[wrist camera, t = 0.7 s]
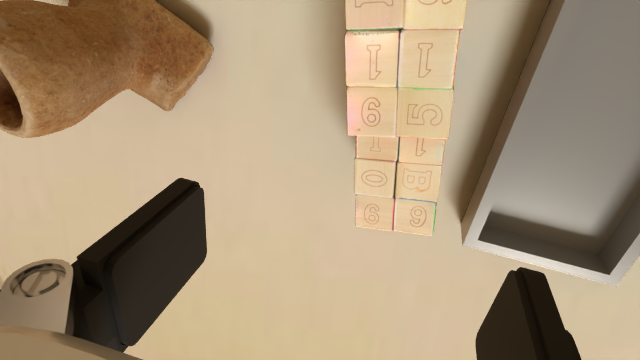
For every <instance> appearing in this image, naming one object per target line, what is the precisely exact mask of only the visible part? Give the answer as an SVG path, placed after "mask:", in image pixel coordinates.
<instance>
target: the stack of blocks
mask: <svg viewBox="0 0 640 360" xmlns="http://www.w3.org/2000/svg"><path fill="white" fill-rule="evenodd" d="M466 3H467V0H345V15H346V29H347V32H346V33H345V73H346V85H347V92H346V93H347V134H348V135H353V136H356V157H355V161H354V193H355V194H356V200H355V226H357V227H364V228H371V229H378V230H385V231H393V230H394V231H398V232H405V233H412V234H419V235H427V236H432V235H433V230H434V222H435V214H436V204H437V201H438V195H439V186H440V178H441V171H442V163H443V156H444V147H445V140H447V139H448V137H449V129H450V121H451V112H452V103H453V95H454V86H453V82H454V74H455V67H456V58H457V51H458V43H459V34H460V30H461V29H462V28H463V25H464V18H465V11H466Z"/></svg>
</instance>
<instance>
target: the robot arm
mask: <svg viewBox="0 0 640 360" xmlns="http://www.w3.org/2000/svg"><path fill="white" fill-rule="evenodd" d="M206 254H207V244H206V224H205V205H204V190H203V188H200V185H199V183H198V182H195V181H191V180H188V179H184V178H179V179H177V180H176V181H174V182H173V183H172V184H170V185H169V186H168V187H167V188H165V189H164V190H163V191H161V192H160V193H159V194H158V195H156V196H155V197H154V198H152V199H151V200H150V201H148V202H147V203H146V204H145V205H143V206H142V207H141V208H139V209H138V210H137V211H135V212H134V213H133V214H132V215H130V216H129V217H128V218H126V219H125V220H124V221H123V222H121V223H120V224H119V225H117V226H116V227H115V228H113V229H112V230H111V231H110V232H108V233H107V234H106V235H104V236H103V237H102V238H100V239H99V240H98V241H97V242H95V243H94V244H93V245H91V246H90V247H89V248H88V249H86V250H85V251H84V252H82V253H81V254H80V255H78V256H77V261H76V262H74V263H73V264H72V265H70V264H69V263H68V262H66V261H63V260H58V259H47V260H41V261H37V262H33V263H30V264H28V265H26V266H23V267H21V268H20V269H18V270H17V271H15V272H13V273H12V274H11V275H10V276H9V277H8V278H7V279H6V281H5V282H4V284H3V286H2V288H1V290H0V360H142V359H139V358H136V357H134V356H131V355H128V354H125V353H123V352H124V351H125V350H126V348H127V347H128V346H133V345H135V344H136V343H137V342H138V341H139V339H140V338H141V337H142V336H143V335H144V333H145V332H146V331H147V330H148V328H149V327H150V326H151V325H152V324H153V322H154V321H155V320H156V319H157V318H158V316H159V315H160V314H161V313H162V312H163V310H164V309H165V308H166V307H167V305H168V304H169V303H170V302H171V301H172V299H173V298H174V297H175V296H176V295H177V293H178V292H179V291H180V290H181V289H182V287H183V286H184V285H185V284H186V282H187V281H188V280H189V279H190V278H191V276H192V275H193V274H194V273H195V272H196V270H197V269H198V268H199V267H200V265H201V264H202V263H203V262H204V260H205V258H206ZM476 354H477V360H581V357H580V354H579V352H578V349H577V347H576V344H575V341H574V339H573V337H572V335H571V334H570V333H569V332H568V331H567V330H565V328H564V325H563V323H562V320H561V317H560V314H559V312H558V309H557V306H556V303H555V301H554V298H553V295H552V292H551V290H550V287H549V284H548V282H547V279H546V276H545V275H544V274H543V273H541V272H538V271H534V270H530V269H526V268H522V267H520V268H518V269H517V271H513V270H511V271H510V272H509V273H508V275H507V277H506V279H505V281H504V283H503V285H502V286H501V288H500V290H499V292H498V294H497V296H496V298H495V300H494V302H493V304H492V306H491V308H490V310H489V312H488V314H487V316H486V317H485V319H484V321H483V323H482V325H481V327H480V329H479V331H478V333H477V337H476Z"/></svg>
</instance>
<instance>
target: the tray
mask: <svg viewBox="0 0 640 360" xmlns="http://www.w3.org/2000/svg"><path fill="white" fill-rule="evenodd" d="M461 233H462V244H463V246H466V247H470V248H474V249H478V250H481V251H485V252H489V253H492V254H496V255H500V256H503V257H507V258H511V259H515V260H518V261H522V262H526V263H529V264H533V265H537V266H541V267H544V268H548V269H552V270H555V271H559V272H563V273H567V274H570V275H574V276H578V277H581V278H585V279H589V280H593V281H596V282H600V283H604V284H607V285H611V286H615V287H616V286H617V285H618V284H619V282H620V281H621V280H622V278H623V277H624V276H625V274H626V273H627V272H628V270H629V269H630V268H631V266H632V265H633V264H634V262H635V261H636V260H637V258H638V257H639V256H640V0H550V2H549V5H548V7H547V10H546V12H545V15H544V17H543V20H542V22H541V25H540V27H539V30H538V32H537V35H536V37H535V40H534V42H533V45H532V47H531V50H530V52H529V55H528V57H527V60H526V62H525V65H524V67H523V70H522V72H521V75H520V77H519V80H518V82H517V85H516V87H515V90H514V92H513V95H512V97H511V100H510V102H509V105H508V107H507V110H506V112H505V115H504V117H503V120H502V122H501V125H500V127H499V130H498V132H497V135H496V137H495V140H494V142H493V145H492V147H491V150H490V153H489V155H488V158H487V160H486V163H485V165H484V168H483V170H482V173H481V175H480V178H479V180H478V183H477V185H476V188H475V190H474V193H473V195H472V198H471V200H470V203H469V205H468V208H467V210H466V213H465V215H464V218H463V220H462V223H461Z"/></svg>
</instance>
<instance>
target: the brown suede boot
mask: <svg viewBox="0 0 640 360" xmlns="http://www.w3.org/2000/svg"><path fill="white" fill-rule="evenodd" d="M213 51H214V48H213V46H212V44H211V43H210V42H209V41H208V40H207V39H205V38H204V37H203V36H202V35H200V34H199V33H198V32H196V31H195V30H194V29H193V28H191V27H190V26H189V25H188V24H186V23H185V22H184V21H182V20H181V19H180V18H178V17H177V16H175V15H174V14H173V13H171V12H170V11H168V10H167V9H165V8H164V7H163V6H161V5H160V4H159V3H157V2H156V1H155V0H69V4H68V6H59V5H54V4H49V3H45V2H40V1H34V0H3V1H0V129H1V130H3V131H5V132H7V133H9V134H12V135H15V136H18V137H23V138H31V137H39V136H43V135H47V134H51V133H55V132H58V131H61V130H64V129H66V128H69V127H71V126H73V125H75V124H77V123H78V122H80V121H81V120H83V119H84V118H86V117H87V116H88V115H89V114H90V113H92V112H93V111H94V110H95V109H97V108H98V107H99V106H101V105H102V104H104V103H105V102H106V101H108V100H109V99H111V98H112V97H114V96H115V95H117V94H118V93H120V92H121V91H123V90H126V89H131V90H132V91H134V92H135V93H137V94H139V95H141V96H142V97H144V98H146V99H148V100H149V101H151V102H152V103H154V104H156V105H157V106H159V107H160V108H162V109H163V110H165V111H170V110H172V109H173V107H174V106H175V104H176V102H177V101H178V100H179V99H180V98H182V97H183V96H184V95H185V93H186V91H187V90H188V89H189V88H190V87H191V85H192V84H194V82H195V81H196V79H197V77H198V76H199V75H200V74H202V72H203V71H204V69H205V68H206V65H207V63H208V62H209V61H210V58H211V55H212V53H213Z"/></svg>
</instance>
